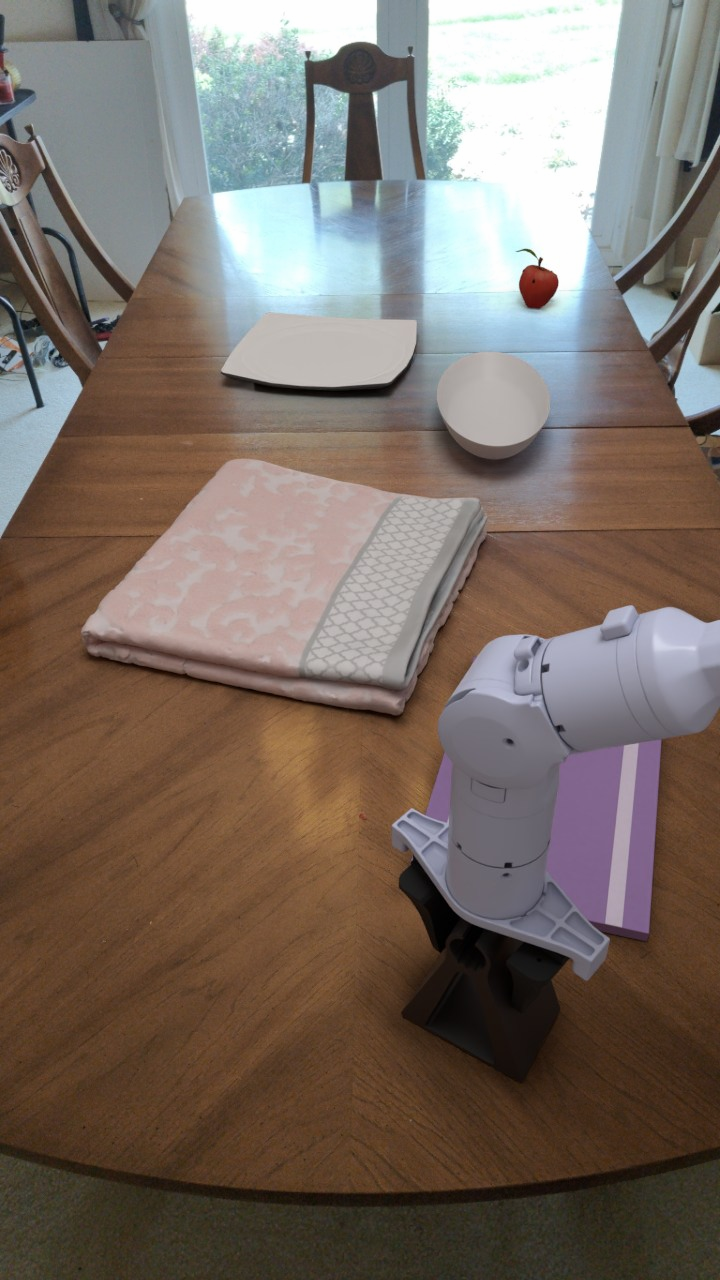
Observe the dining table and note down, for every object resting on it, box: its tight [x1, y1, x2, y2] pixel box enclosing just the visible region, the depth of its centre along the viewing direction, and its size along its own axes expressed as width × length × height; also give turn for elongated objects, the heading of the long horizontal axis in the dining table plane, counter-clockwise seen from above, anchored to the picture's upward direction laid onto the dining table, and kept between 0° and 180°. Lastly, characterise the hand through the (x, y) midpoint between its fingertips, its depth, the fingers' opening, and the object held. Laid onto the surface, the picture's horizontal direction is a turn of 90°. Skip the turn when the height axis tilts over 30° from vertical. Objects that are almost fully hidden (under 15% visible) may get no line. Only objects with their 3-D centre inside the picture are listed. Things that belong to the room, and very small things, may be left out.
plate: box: [220, 311, 418, 392], centre depth 156 cm, size 29×29×3 cm
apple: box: [515, 248, 559, 310], centre depth 172 cm, size 8×7×10 cm
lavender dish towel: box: [408, 655, 663, 942], centre depth 83 cm, size 28×18×1 cm, turn 164°
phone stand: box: [400, 918, 561, 1083], centre depth 63 cm, size 9×6×12 cm, turn 57°
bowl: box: [436, 350, 551, 460], centre depth 133 cm, size 30×15×6 cm, turn 176°
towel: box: [80, 458, 489, 716], centre depth 105 cm, size 36×34×6 cm
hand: (485, 969), depth 63 cm, fingers open, 6 cm apart
